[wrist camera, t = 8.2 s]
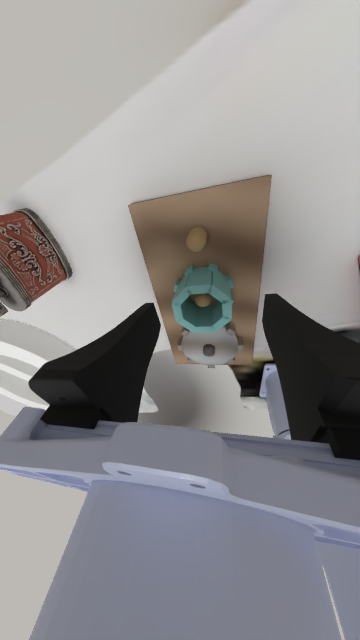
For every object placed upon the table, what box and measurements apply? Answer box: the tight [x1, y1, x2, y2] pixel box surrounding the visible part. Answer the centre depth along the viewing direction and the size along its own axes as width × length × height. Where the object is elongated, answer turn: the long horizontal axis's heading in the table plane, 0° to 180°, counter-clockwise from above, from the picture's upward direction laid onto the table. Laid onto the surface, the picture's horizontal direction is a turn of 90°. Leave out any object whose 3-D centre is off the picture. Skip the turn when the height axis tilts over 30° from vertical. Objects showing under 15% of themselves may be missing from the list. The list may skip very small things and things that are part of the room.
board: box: [128, 175, 272, 368], centre depth 21 cm, size 23×12×4 cm, turn 10°
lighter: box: [0, 209, 72, 317], centre depth 18 cm, size 8×3×10 cm, turn 13°
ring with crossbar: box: [0, 319, 77, 410], centre depth 39 cm, size 28×28×5 cm
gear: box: [172, 263, 234, 333], centre depth 19 cm, size 6×6×4 cm
